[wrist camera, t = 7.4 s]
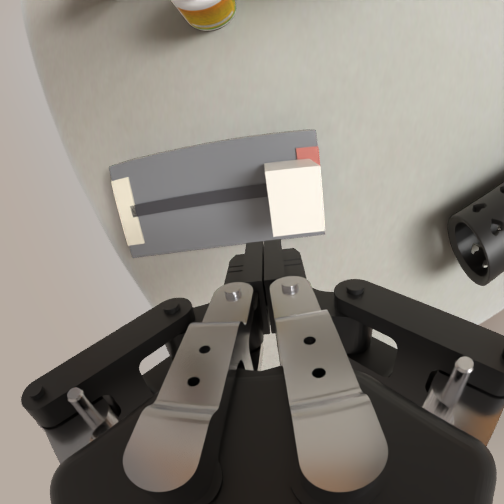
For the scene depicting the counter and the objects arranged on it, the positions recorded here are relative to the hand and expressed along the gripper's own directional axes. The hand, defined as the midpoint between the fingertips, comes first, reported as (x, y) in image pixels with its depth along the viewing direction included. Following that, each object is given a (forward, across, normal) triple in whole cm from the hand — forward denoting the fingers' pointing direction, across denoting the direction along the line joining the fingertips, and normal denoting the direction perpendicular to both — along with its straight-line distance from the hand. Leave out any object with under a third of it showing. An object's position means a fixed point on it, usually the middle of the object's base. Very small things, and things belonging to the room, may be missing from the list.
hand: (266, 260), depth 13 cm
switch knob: (+14, -2, 0) cm, 14 cm away
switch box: (+19, +5, 0) cm, 19 cm away
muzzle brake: (+19, -35, +3) cm, 40 cm away
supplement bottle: (+19, +3, -20) cm, 28 cm away
